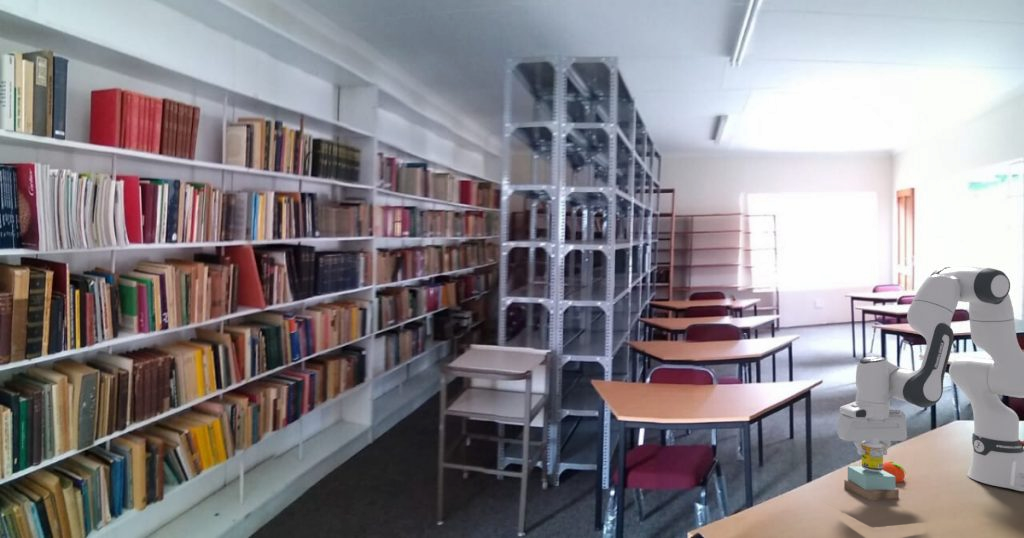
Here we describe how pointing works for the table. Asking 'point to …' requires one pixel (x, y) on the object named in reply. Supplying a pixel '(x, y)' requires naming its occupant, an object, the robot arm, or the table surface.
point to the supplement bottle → (873, 455)
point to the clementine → (894, 470)
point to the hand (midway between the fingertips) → (872, 454)
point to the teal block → (871, 478)
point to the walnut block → (871, 491)
